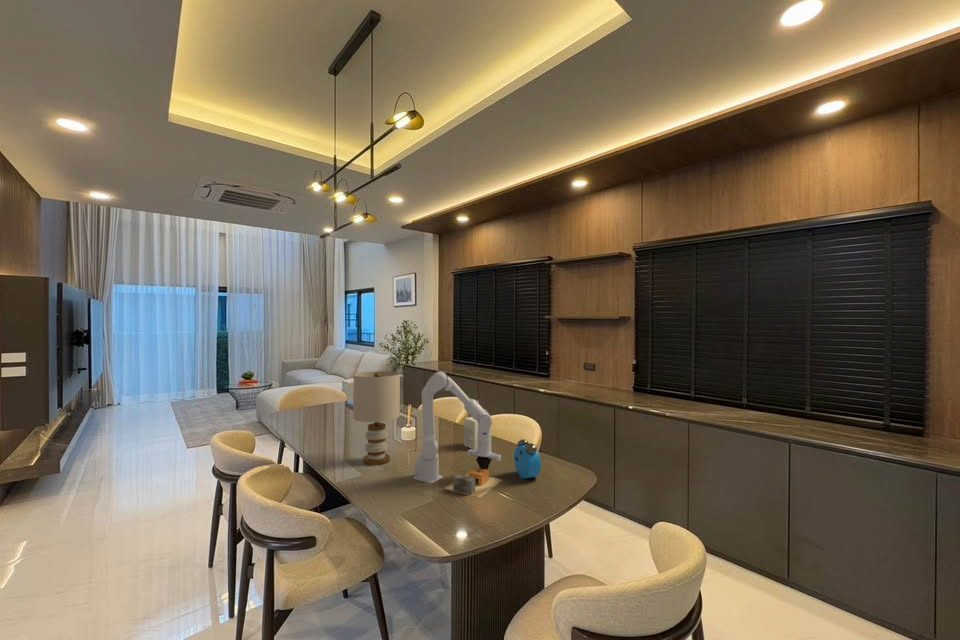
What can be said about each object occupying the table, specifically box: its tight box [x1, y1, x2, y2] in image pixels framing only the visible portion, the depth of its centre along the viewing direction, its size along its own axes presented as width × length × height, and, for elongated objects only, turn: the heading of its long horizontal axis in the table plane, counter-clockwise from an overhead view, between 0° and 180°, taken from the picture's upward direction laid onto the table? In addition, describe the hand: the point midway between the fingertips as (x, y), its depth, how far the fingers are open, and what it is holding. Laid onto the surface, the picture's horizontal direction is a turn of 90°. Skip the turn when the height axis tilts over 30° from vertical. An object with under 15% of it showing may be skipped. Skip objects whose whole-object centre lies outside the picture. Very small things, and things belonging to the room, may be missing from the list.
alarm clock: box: [513, 438, 542, 480], centre depth 164 cm, size 13×6×15 cm, turn 23°
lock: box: [468, 467, 490, 485], centre depth 159 cm, size 6×6×5 cm
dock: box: [443, 472, 503, 499], centre depth 156 cm, size 16×19×5 cm
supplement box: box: [463, 416, 478, 450], centre depth 204 cm, size 9×9×15 cm
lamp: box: [352, 370, 401, 466], centre depth 182 cm, size 21×21×41 cm
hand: (484, 474), depth 163 cm, fingers closed, pressing on lock
